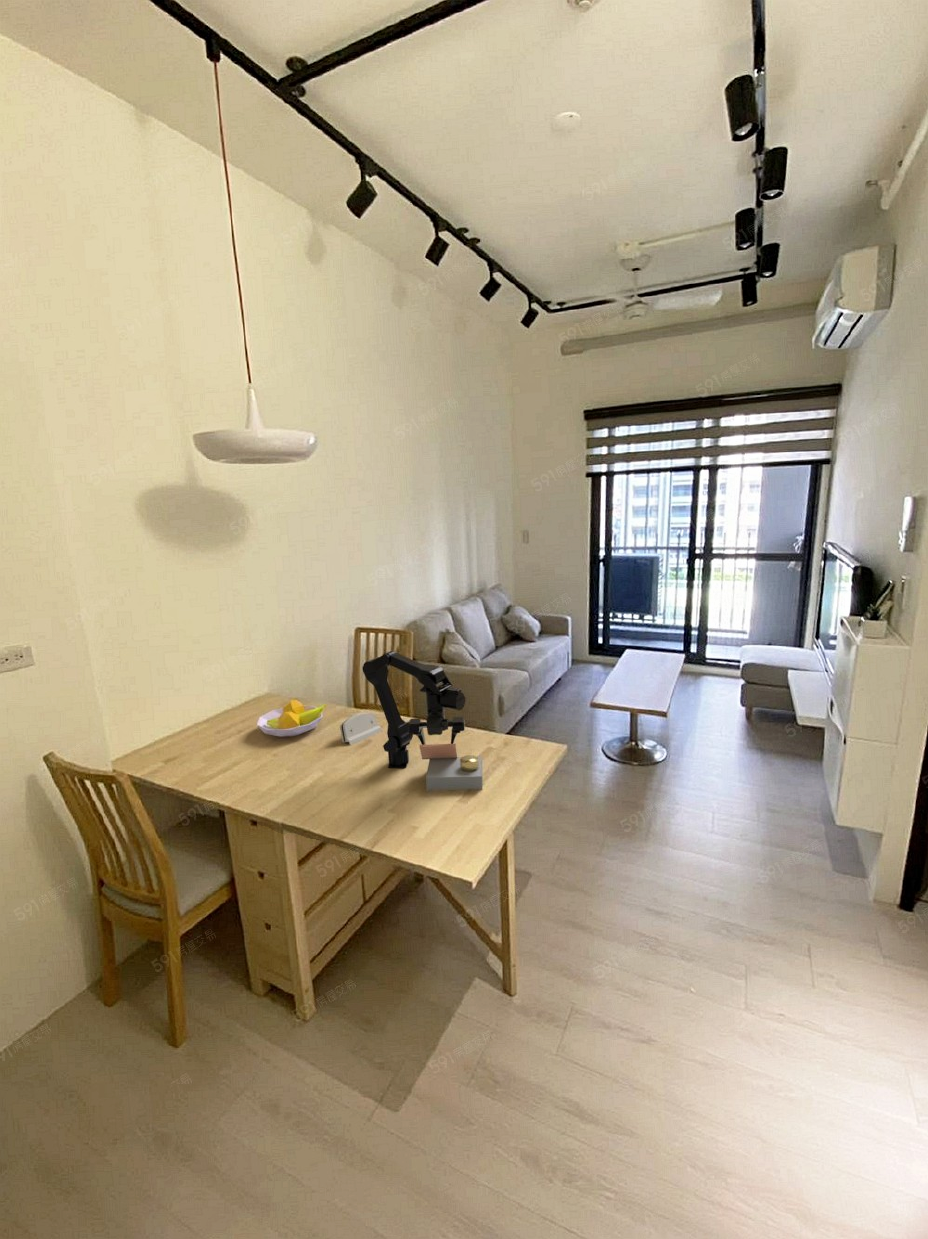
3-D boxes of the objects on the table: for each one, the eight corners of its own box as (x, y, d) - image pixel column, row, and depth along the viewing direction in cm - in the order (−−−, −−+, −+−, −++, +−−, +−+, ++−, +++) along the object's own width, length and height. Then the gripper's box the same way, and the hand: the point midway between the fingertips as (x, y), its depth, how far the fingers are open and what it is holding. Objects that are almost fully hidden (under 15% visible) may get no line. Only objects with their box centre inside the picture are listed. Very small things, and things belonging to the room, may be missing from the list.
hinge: (350, 745, 214) (342, 720, 214) (343, 746, 217) (335, 722, 217) (383, 731, 226) (375, 707, 226) (376, 732, 229) (369, 709, 229)
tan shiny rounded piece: (460, 784, 180) (459, 763, 179) (461, 775, 186) (460, 755, 184) (479, 783, 180) (478, 763, 178) (479, 774, 186) (478, 755, 184)
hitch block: (426, 790, 178) (425, 777, 177) (430, 769, 191) (429, 757, 190) (482, 789, 177) (481, 776, 176) (482, 768, 191) (481, 756, 190)
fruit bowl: (244, 739, 224) (240, 713, 222) (289, 714, 249) (286, 691, 246) (300, 748, 213) (296, 720, 211) (341, 721, 238) (338, 696, 235)
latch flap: (422, 759, 189) (419, 747, 183) (422, 757, 190) (419, 744, 184) (457, 759, 189) (455, 746, 183) (457, 756, 190) (455, 743, 183)
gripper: (403, 715, 175) (407, 760, 178) (462, 713, 174) (465, 758, 178) (408, 702, 185) (411, 745, 189) (463, 700, 185) (466, 743, 188)
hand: (438, 748), depth 186 cm, fingers open, 9 cm apart
